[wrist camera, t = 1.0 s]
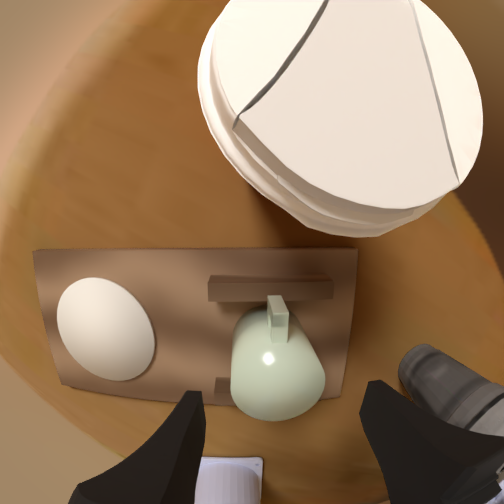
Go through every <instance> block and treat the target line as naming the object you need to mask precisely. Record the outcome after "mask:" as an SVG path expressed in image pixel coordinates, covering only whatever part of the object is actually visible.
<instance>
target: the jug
mask: <svg viewBox="0 0 504 504" xmlns="http://www.w3.org/2000/svg"><path fill="white" fill-rule="evenodd" d="M324 386H325V373H324V370H323V368H322V365H321V363H320V361H319V359H318V357H317V355H316V353H315V351H314V349H313V347H312V345H311V343H310V341H309V339H308V337H307V335H306V333H305V331H304V329H303V327H302V325H301V324H300V322H299V320H298V318H297V317H296V316H295V315H294V313H292V312H291V311H290V310H288V309H287V307H286V305H285V303H284V301H283V298H282V296H281V295H271V296H268V300H267V305H260V306H257V307H254V308H252V309H250V310H248V311H247V312H245V313H244V314H243V315H242V316H241V317H240V318H239V319H238V321H237V322H236V324H235V326H234V329H233V336H232V360H231V388H230V390H231V395H232V398H233V400H234V402H235V404H236V405H237V407H238V408H239V409H240V410H241V411H243V412H244V413H245V414H247V415H249V416H251V417H253V418H256V419H259V420H264V421H282V420H287V419H291V418H294V417H296V416H299V415H300V414H302V413H304V412H306V411H307V410H309V409H310V408H311V407H312V406H313V405H314V404H315V403H316V402H317V401H318V399H319V398H320V396H321V395H322V392H323V390H324Z"/></svg>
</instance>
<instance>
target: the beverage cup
mask: <svg viewBox="0 0 504 504" xmlns="http://www.w3.org/2000/svg"><path fill="white" fill-rule="evenodd" d="M398 377H399V378H400V380H401V381H402V383H403V385H404V387H405V389H406V391H407V392H408V394H409V395H410V397H411V398H412V400H413V402H414V403H415V405H417V406H418V407H420V408H421V409H423V410H425V411H426V412H428V413H430V414H431V415H433V416H435V417H437V418H439V419H441V420H443V421H445V422H447V423H450V424H452V425H455V426H457V427H460V428H463V429H466V430H470V431H473V432H478V433H482V434H488V435H496V436H504V386H501V385H499V384H497V383H492V382H490V381H489V380H487V379H485V378H484V377H482V376H481V375H479V374H477V373H476V372H474V371H473V370H471V369H469V368H468V367H466V366H464V365H463V364H461V363H460V362H458V361H456V360H455V359H453V358H451V357H450V356H448V355H447V354H445V353H443V352H442V351H440V350H437V349H435V348H434V347H431V346H430V345H428V344H422V345H418V346H416V347H414V348H413V349H412V350H410V351H409V352H408V353H407V354H406V355H405V357H404V358H403V359H402V361H401V363H400V365H399V369H398ZM503 471H504V463H503V464H502V466H501V467H500V468H499V469H498V470H497V472H496V473H497V474H500V473H502V472H503Z"/></svg>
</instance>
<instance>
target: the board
mask: <svg viewBox="0 0 504 504" xmlns="http://www.w3.org/2000/svg"><path fill="white" fill-rule="evenodd" d="M33 260H34V269H35V276H36V283H37V289H38V295H39V301H40V306H41V311H42V316H43V320H44V325H45V329H46V333H47V337H48V341H49V345H50V349H51V352H52V356H53V359H54V362H55V366H56V369H57V372H58V375H59V378H60V381H61V384H62V385H66V386H70V387H75V388H79V389H84V390H89V391H94V392H99V393H105V394H111V395H117V396H124V397H131V398H139V399H147V400H156V401H167V402H179V401H180V399H181V398H182V396H183V395H184V393H185V392H186V391H187V390H192V391H202V398H203V404H215V405H230V406H237V405H236V404H235V402H234V400H233V398H232V395H231V390H230V388H231V360H232V336H233V329H234V326H235V324H236V322H237V321H238V319H239V318H240V317H241V316H242V315H243V314H244V313H245V312H247V311H248V310H250V309H252V308H254V307H257V306H260V305H267V300H268V296H271V295H281V296H282V298H283V301H284V303H285V305H286V307H287V309H288V310H290V311H291V312H292V313H294V315H295V316H296V317H297V318H298V320H299V322H300V324H301V325H302V327H303V329H304V331H305V333H306V335H307V337H308V339H309V341H310V343H311V345H312V347H313V349H314V351H315V353H316V355H317V357H318V359H319V361H320V363H321V365H322V368H323V370H324V373H325V386H324V390H323V392H322V395H321V396H320V398H319V399H318V401H321V399H328V398H336V397H340V393H341V387H342V382H343V377H344V371H345V365H346V359H347V353H348V346H349V339H350V332H351V324H352V316H353V307H354V298H355V288H356V276H357V263H358V249H356V248H353V247H303V248H125V249H39V250H36V251H33ZM88 277H99V278H105V279H109V280H111V281H114V282H116V283H118V284H119V285H121V286H123V287H124V288H126V289H127V290H128V291H129V292H131V293H132V294H133V295H134V296H135V297H136V298H137V299H138V300H139V302H140V303H141V304H142V306H143V307H144V309H145V310H146V312H147V314H148V316H149V318H150V320H151V322H152V325H153V329H154V334H155V350H154V355H153V357H152V360H151V362H150V363H149V365H148V367H147V368H146V369H145V370H144V372H142V373H141V374H140V375H138V376H136V377H135V378H132V379H129V380H124V381H115V380H108V379H104V378H101V377H99V376H97V375H94V374H93V373H91V372H89V371H88V370H86V369H85V368H84V367H82V366H81V365H80V364H79V363H78V362H77V361H76V360H75V359H74V358H73V357H72V355H71V354H70V353H69V351H68V350H67V348H66V347H65V345H64V343H63V341H62V338H61V336H60V332H59V329H58V324H57V308H58V304H59V301H60V298H61V296H62V294H63V293H64V291H65V290H66V289H67V288H68V287H69V286H70V285H71V284H73V283H75V282H76V281H78V280H81V279H84V278H88Z"/></svg>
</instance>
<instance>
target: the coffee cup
mask: <svg viewBox="0 0 504 504" xmlns="http://www.w3.org/2000/svg"><path fill="white" fill-rule="evenodd" d="M198 91H199V97H200V102H201V107H202V111H203V114H204V116H205V119H206V121H207V124H208V127H209V129H210V132H211V134H212V136H213V137H214V139H215V141H216V142H217V144H218V146H219V147H220V149H221V151H222V153H223V154H224V156H225V157H226V158H227V159H228V161H229V162H230V163H231V164H232V165H233V167H234V168H235V169H236V170H237V172H238V173H239V174H240V175H241V176H242V177H243V178H244V179H245V180H246V181H247V182H248V183H250V184H251V185H252V186H253V187H254V188H255V189H256V190H257V191H258V192H259V193H261V194H262V195H263V196H265V197H266V198H268V199H269V200H271V201H272V202H274V203H275V204H277V205H278V206H280V207H281V208H283V209H284V210H285V211H287V212H288V213H289V214H291V215H292V216H293V217H295V218H296V219H297V220H299V221H300V222H301V223H302V224H304V225H305V226H306V227H308V228H312V229H315V230H319V231H322V232H325V233H329V234H332V235H340V236H348V237H355V238H356V237H378V236H380V235H382V234H384V233H386V232H389V231H391V230H393V229H395V228H397V227H399V226H401V225H404V224H406V223H408V222H411V221H413V220H415V219H417V218H419V217H420V216H422V215H423V214H425V213H426V212H428V211H429V210H430V209H432V208H433V207H434V206H435V205H436V204H437V203H438V202H439V201H440V200H441V199H442V198H443V197H444V196H445V194H446V193H447V192H449V191H451V190H454V189H456V188H457V187H458V186H459V185H460V184H461V183H462V182H463V181H464V179H465V178H466V176H467V175H468V173H469V171H470V170H471V168H472V166H473V164H474V162H475V159H476V156H477V154H478V151H479V147H480V142H481V137H482V125H483V124H482V123H483V114H482V104H481V98H480V94H479V89H478V85H477V81H476V78H475V76H474V73H473V71H472V68H471V65H470V63H469V61H468V59H467V57H466V55H465V54H464V51H463V50H462V48H461V46H460V45H459V43H458V42H457V40H456V39H455V37H454V36H453V34H452V33H451V31H450V30H449V29H448V28H447V27H446V25H445V24H444V23H443V22H442V21H441V20H440V18H439V17H438V16H437V15H436V14H435V13H434V12H433V11H432V10H430V9H429V8H428V7H427V6H426V5H425V4H424V3H423V2H421V1H420V0H230V2H229V3H228V4H227V6H226V7H225V8H224V10H223V12H222V13H221V14H220V16H219V17H218V18H217V20H216V21H215V23H214V24H213V25H212V27H211V28H210V30H209V32H208V34H207V37H206V39H205V41H204V43H203V46H202V49H201V54H200V59H199V64H198Z"/></svg>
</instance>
